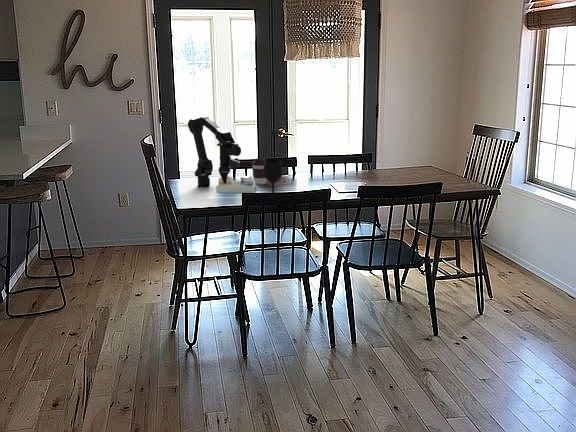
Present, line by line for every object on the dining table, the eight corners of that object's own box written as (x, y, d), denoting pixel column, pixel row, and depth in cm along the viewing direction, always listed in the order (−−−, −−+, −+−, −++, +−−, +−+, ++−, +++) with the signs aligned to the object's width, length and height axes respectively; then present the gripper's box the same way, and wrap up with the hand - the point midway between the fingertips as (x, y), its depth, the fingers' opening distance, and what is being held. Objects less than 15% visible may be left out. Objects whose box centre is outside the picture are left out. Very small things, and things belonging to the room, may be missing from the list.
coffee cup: (253, 186, 364) (253, 160, 360) (250, 183, 373) (249, 158, 370) (270, 185, 367) (270, 160, 363) (266, 182, 376) (266, 157, 372)
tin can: (240, 190, 348) (240, 178, 346) (240, 188, 354) (240, 176, 352) (252, 190, 348) (252, 178, 346) (252, 188, 354) (252, 176, 353)
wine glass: (282, 196, 337) (282, 159, 332) (283, 200, 326) (283, 162, 322) (263, 196, 336) (263, 159, 332) (263, 200, 326) (263, 162, 321)
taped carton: (218, 190, 348) (218, 178, 346) (219, 188, 353) (219, 176, 351) (231, 190, 348) (231, 178, 347) (231, 188, 353) (231, 176, 351)
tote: (216, 193, 343) (216, 186, 342) (218, 187, 358) (218, 181, 357) (254, 193, 344) (254, 186, 343) (254, 187, 359) (254, 181, 358)
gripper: (238, 156, 337) (239, 185, 341) (239, 152, 355) (240, 179, 359) (218, 156, 337) (218, 185, 340) (220, 152, 355) (220, 179, 358)
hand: (225, 182), depth 349 cm, fingers open, 9 cm apart
